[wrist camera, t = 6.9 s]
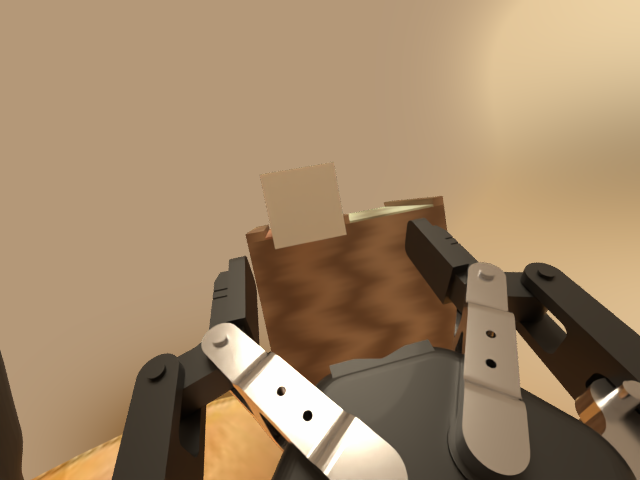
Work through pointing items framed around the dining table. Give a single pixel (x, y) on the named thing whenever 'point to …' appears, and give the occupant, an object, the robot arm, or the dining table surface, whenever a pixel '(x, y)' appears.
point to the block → (303, 204)
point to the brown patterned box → (349, 291)
